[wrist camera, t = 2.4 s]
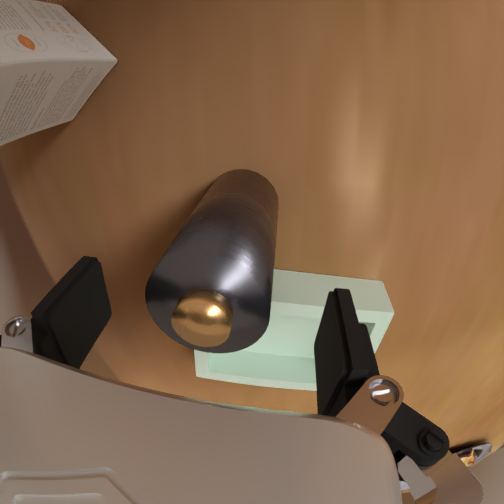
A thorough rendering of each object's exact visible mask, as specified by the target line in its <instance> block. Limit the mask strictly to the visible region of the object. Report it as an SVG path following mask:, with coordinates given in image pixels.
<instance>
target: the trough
mask: <svg viewBox="0 0 504 504" xmlns="http://www.w3.org/2000/svg"><path fill="white" fill-rule="evenodd" d="M335 288H342V289H349V290H350V292H351V296H352V299H353V303H354V306H355V310H356V314H357V318H358V321H359V323H360V324H365V325H366V326H367V328H368V332H369V336H370V339H371V343H372V347H373V351H374V354H375V352H376V350H377V348H378V346H379V344H380V342H381V340H382V338H383V336H384V334H385V332H386V330H387V328H388V325H389V323H390V321H391V319H392V317H393V315H394V310H393V308H392V305H391V302H390V300H389V297H388V295H387V292H386V289H385V287H384V284H383V282H382V281H376V280H367V279H358V278H349V277H340V276H331V275H322V274H313V273H304V272H295V271H287V270H278V269H274V274H273V287H272V299H271V311H270V321H269V325H268V327H267V329H266V331H265V333H264V334H263V336H262V337H261V338H260V339H259V340H258V341H257V342H255V343H254V344H253V345H251V346H249V347H247V348H245V349H243V350H240V351H236V352H231V353H207V352H202V351H198V350H195V349H194V356H195V367H196V377H202V378H208V379H214V380H220V381H227V382H234V383H241V384H249V385H257V386H266V387H275V388H286V389H299V390H314V391H317V387H316V371H315V357H314V342H315V338H316V335H317V332H318V328H319V325H320V321H321V318H322V314H323V311H324V307H325V304H326V300H327V297H328V293H329V291H334V289H335Z"/></svg>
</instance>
